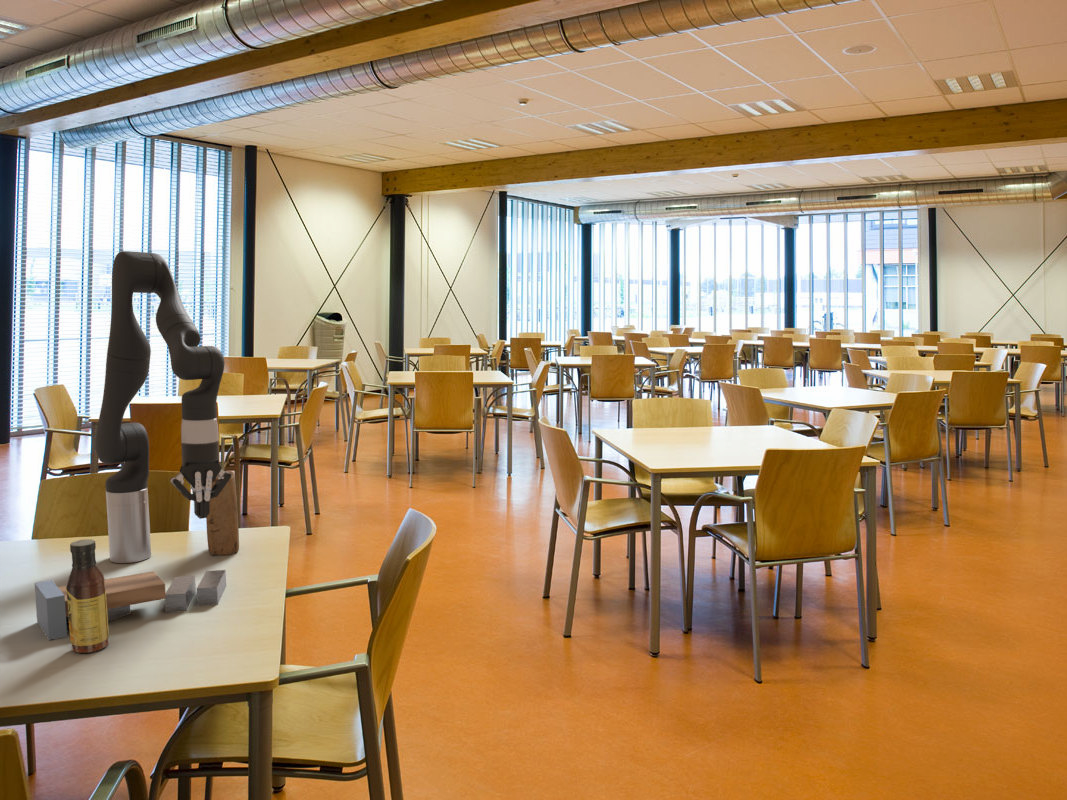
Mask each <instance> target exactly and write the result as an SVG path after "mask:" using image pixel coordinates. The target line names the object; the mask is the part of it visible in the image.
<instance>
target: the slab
mask: <svg viewBox="0 0 1067 800" xmlns="http://www.w3.org/2000/svg"><path fill="white" fill-rule="evenodd" d="M66 586H67V585H62V586H57V587H58V588H59V589H60V590H61V592H62V593H63V594H64V595H65V609H66V617H67V616H68V604H67V592H66ZM104 586H105V589H106V602H107V609H111V608H116V607H122V606H128V605H130V606H132V605H137V604H143V603H149V602H154V601H160V600H165V599H166V583H165V582H164V581H163V580H162V579H161V578H160V577H159V576H158V574H157V573H156V572H155V571H148V572H141V573H135V574H130V575H123V576H118V577H113V578H112V577H111V578H104Z"/></svg>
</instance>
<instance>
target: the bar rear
mask: <svg viewBox="0 0 1067 800" xmlns="http://www.w3.org/2000/svg"><path fill="white" fill-rule="evenodd" d="M226 571H227V570H226V569H218V570H217V569H216V570H206V571H205V573H204V575H203V577H202V578H201V580H200V582H199V583H198V585H197V587H196V601H197V602H196V603H197V604H196V605H197V606H198V607H201V606H203V607H204V606H215V605H216V606H218V605H219V604H220V603H219V602H220V601H221V598H222V597H223V594H224V592H225V590H226V588H227V572H226Z"/></svg>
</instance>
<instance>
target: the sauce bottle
mask: <svg viewBox="0 0 1067 800" xmlns="http://www.w3.org/2000/svg"><path fill="white" fill-rule="evenodd" d="M69 547H70V548H69V551H70V553H71V561H72V562H71V567H72V568H71V571H70V574H69V578H68V581H67V582H66V583H67V584H66V585H65V586H66V592H67V604H68V618H69V630H70V632H69V641H70V644H71V649H72V651H73V652H74V653H76V652H77V653H78V654H79V653H80V654H88V653H95V652H99V651H101V650H103V649H105V648H106V647H107V646H108V645H109V635H110V631H109V630H110V629H109V621H108V615H107V602H106V589H105V586H104V579H105V577H104V574H103V573H102V571H101V570H100V569H99V568H98V566H97V560H96V548H97V547H96V540H95V539H92V538H91V539H89V538H86V539H79V540H75V541H72V542H71V543H70V546H69ZM77 653H76V654H77Z"/></svg>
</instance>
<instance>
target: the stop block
mask: <svg viewBox="0 0 1067 800" xmlns="http://www.w3.org/2000/svg"><path fill="white" fill-rule="evenodd" d="M58 587H59V586H57V584H56V583H55V582H54V581H53V579H48V580H42V581H37V582H34V595H35V609H36V622H38V623H37V624H38V626H39V625H40V626H39V627H40V629H41V628H42V629H41V630H42V632H43V631H44V632H43V634H44V635H45V634H46V635H45V637H46V638H47V637H48V638H47V639H48V641H52V640H51V639H54V640H59V639H62V637H63V638H67V637H68V631H67V625H66V609H65V595H64V594H63V593H62V592H61V590H60V589H59V588H58ZM58 638H59V639H58Z"/></svg>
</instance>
